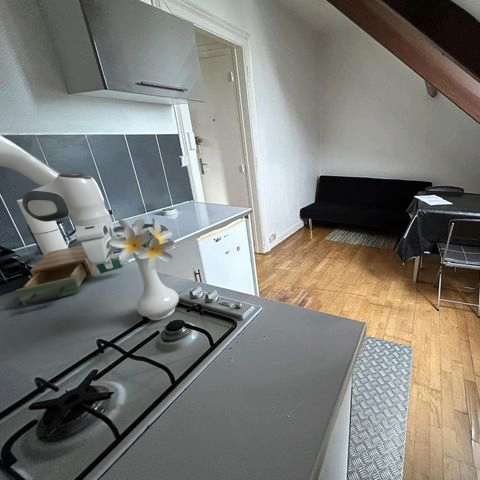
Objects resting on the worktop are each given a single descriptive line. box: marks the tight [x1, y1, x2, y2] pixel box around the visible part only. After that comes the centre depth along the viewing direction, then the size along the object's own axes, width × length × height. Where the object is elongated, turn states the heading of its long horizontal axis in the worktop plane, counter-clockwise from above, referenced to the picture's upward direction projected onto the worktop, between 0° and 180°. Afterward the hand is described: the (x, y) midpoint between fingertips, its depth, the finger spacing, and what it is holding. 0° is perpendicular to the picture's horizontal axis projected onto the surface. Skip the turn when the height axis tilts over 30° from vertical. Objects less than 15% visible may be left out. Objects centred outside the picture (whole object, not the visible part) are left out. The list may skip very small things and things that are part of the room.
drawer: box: [15, 262, 88, 306], centre depth 80 cm, size 21×12×5 cm, turn 30°
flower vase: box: [106, 217, 180, 321], centre depth 63 cm, size 13×18×25 cm
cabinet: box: [29, 245, 98, 279], centre depth 92 cm, size 18×14×7 cm
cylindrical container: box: [16, 198, 69, 258], centre depth 99 cm, size 7×7×25 cm
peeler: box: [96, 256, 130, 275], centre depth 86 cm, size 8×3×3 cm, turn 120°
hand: (111, 265), depth 86 cm, fingers closed on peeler, 2 cm apart
